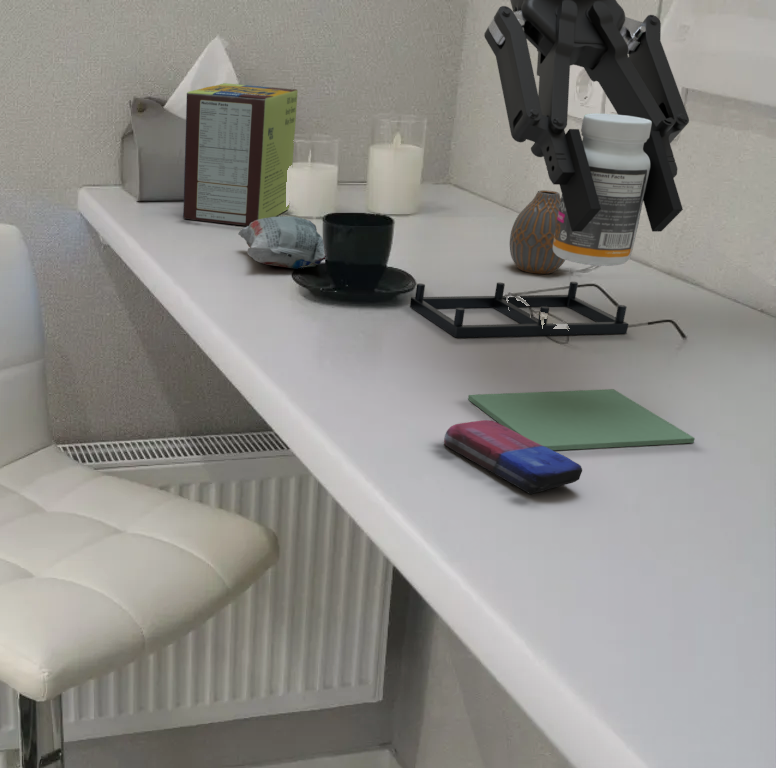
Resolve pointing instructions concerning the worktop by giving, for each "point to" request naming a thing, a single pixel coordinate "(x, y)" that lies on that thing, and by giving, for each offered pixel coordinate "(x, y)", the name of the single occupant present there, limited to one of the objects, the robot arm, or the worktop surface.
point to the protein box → (238, 152)
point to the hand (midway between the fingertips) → (627, 220)
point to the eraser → (512, 456)
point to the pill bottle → (609, 191)
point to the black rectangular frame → (517, 314)
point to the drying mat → (579, 419)
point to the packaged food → (284, 242)
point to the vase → (536, 235)
